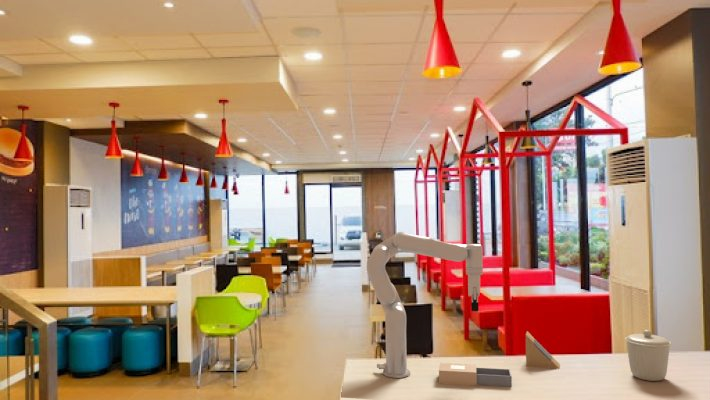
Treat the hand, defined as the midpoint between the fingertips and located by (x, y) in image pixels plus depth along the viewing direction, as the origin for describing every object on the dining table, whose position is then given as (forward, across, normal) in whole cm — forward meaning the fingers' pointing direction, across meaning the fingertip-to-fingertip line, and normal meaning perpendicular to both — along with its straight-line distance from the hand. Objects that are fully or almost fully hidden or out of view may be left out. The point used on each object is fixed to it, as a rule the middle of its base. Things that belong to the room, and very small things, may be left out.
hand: (474, 310), depth 237 cm
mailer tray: (+29, +11, +7) cm, 31 cm away
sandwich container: (+30, -19, +32) cm, 48 cm away
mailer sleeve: (+29, +11, -8) cm, 32 cm away
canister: (+29, -8, +75) cm, 81 cm away
